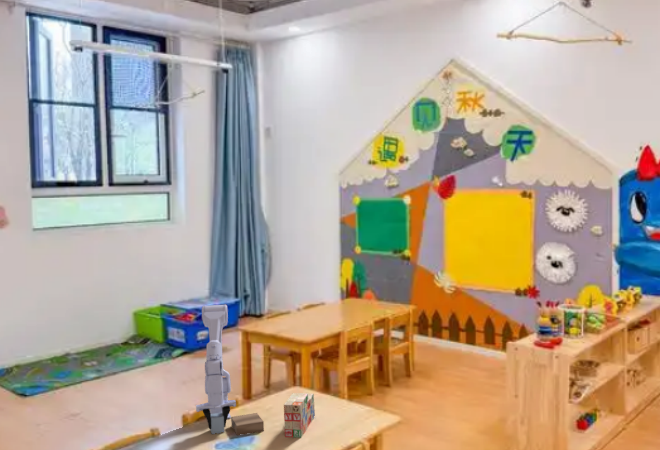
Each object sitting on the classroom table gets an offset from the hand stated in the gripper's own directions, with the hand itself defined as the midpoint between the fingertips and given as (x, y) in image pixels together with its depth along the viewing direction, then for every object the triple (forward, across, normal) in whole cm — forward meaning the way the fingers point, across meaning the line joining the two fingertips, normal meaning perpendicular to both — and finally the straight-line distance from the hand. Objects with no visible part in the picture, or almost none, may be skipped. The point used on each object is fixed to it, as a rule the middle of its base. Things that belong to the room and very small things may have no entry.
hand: (217, 427), depth 251 cm
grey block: (+1, 0, 0) cm, 1 cm away
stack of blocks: (+2, +30, -8) cm, 31 cm away
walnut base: (+2, +11, -2) cm, 11 cm away
